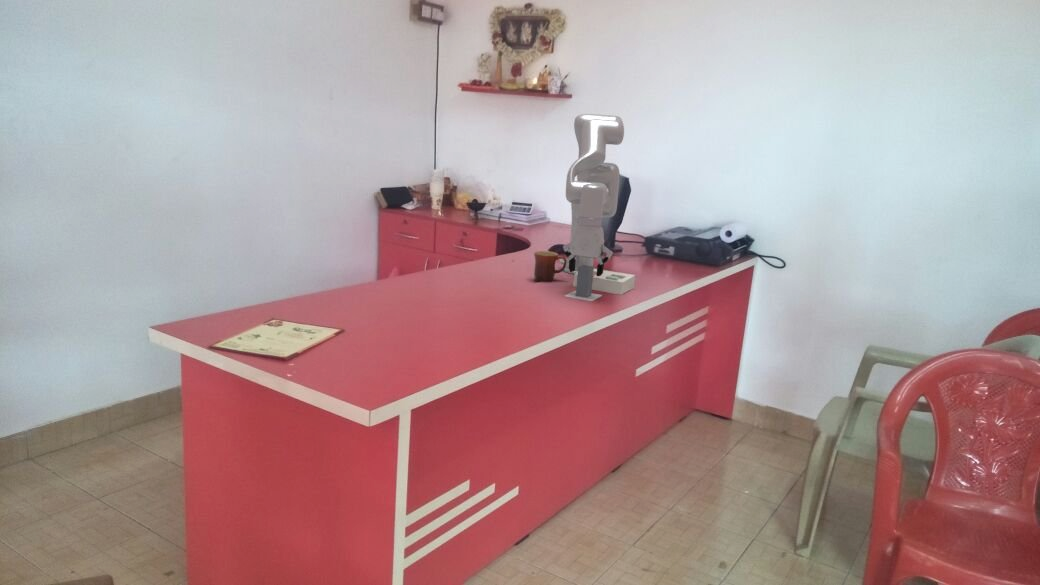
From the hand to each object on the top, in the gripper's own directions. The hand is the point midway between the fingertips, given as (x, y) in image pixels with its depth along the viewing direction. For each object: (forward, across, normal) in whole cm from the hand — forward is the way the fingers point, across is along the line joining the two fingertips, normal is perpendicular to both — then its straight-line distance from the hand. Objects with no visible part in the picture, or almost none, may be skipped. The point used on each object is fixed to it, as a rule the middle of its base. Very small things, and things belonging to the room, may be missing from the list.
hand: (585, 273), depth 237 cm
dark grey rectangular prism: (+8, 0, +1) cm, 8 cm away
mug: (+8, -19, +14) cm, 25 cm away
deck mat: (+8, 0, +1) cm, 8 cm away
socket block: (+8, +1, +18) cm, 19 cm away
